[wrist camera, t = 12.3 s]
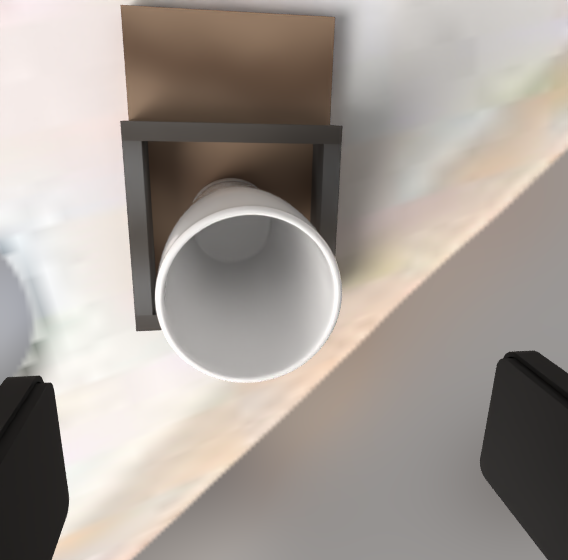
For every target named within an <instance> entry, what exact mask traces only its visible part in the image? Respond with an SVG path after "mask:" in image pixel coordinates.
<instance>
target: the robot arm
mask: <svg viewBox="0 0 568 560" xmlns="http://www.w3.org/2000/svg"><path fill="white" fill-rule="evenodd" d="M480 467H481V471H482V473H483V476H484V477H485V479H486V480H487V481H488V483H489V484H490V485H491V487H492V488H493V489H494V490H495V492H496V493H497V494H498V496H499V497H500V498H501V500H502V501H503V502H504V503H505V505H506V506H507V507H508V509H509V510H510V511H511V513H512V514H513V515H514V516H515V518H516V519H517V520H518V522H519V523H520V524H521V525H522V527H523V528H524V529H525V531H526V532H527V533H528V535H529V536H530V537H531V538H532V540H533V541H534V542H535V544H536V545H537V546H538V547H539V549H540V550H541V551H542V553H543V554H544V555H545V557H546V558H547V559H548V560H568V373H567V372H565V371H564V370H562V369H561V368H560V367H558V366H557V365H555V364H554V363H552V362H551V361H550V360H548V359H547V358H546V357H544V356H543V355H541V354H540V353H538V352H536V351H516V352H508V353H507V354H506V355H505V356H504V358H503V359H500V360H499V362H498V364H497V368H496V373H495V378H494V384H493V390H492V396H491V401H490V407H489V412H488V418H487V424H486V429H485V435H484V440H483V447H482V452H481V457H480ZM68 506H69V493H68V486H67V479H66V472H65V464H64V457H63V450H62V443H61V436H60V429H59V422H58V415H57V407H56V400H55V393H54V388H53V385H52V383H44V382H43V379H42V377H40V376H24V377H7V378H6V379H5V380H4V381H3V383H2V384H1V385H0V560H52V557H53V554H54V551H55V548H56V545H57V543H58V540H59V537H60V534H61V531H62V528H63V525H64V522H65V519H66V516H67V513H68Z"/></svg>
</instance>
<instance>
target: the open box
mask: <svg viewBox="0 0 568 560" xmlns="http://www.w3.org/2000/svg"><path fill="white" fill-rule="evenodd" d="M121 17H122V31H123V45H124V60H125V74H126V88H127V102H128V116H129V121H120V122H121V135H122V149H123V162H124V175H125V188H126V201H127V215H128V228H129V241H130V254H131V267H132V280H133V294H134V307H135V320H136V331H153V330H162V329H161V326H160V324H159V320H158V317H157V312H156V305H155V288H156V281H157V275H158V268H159V263H160V259H161V255H162V252H163V249H164V246H165V244H166V241H167V239H168V237H169V235H170V233H171V230H172V229H173V227H174V226H175V224H176V222H177V221H178V219H179V218H180V217H181V216H182V214H183V213H184V212H185V211H186V210H187V209H188V207H189V206H190V205H191V204H192V202H193V200H194V198H195V196H196V195H197V194H198V193H199V192H200V190H201V189H203V188H204V187H205V186H207V185H208V184H210V183H212V182H214V181H216V180H219V179H224V178H238V179H242V180H246V181H248V182H250V183H252V184H254V185H256V186H257V187H258V188H259V189H262V190H265V191H267V192H270V193H272V194H274V195H276V196H278V197H280V198H282V199H283V200H285V201H287V202H288V203H290V204H291V205H292V206H294V207H295V208H296V209H297V210H298V211H300V212H301V213H302V214H303V215H304V216H305V217H306V218H307V219H308V220H309V221H310V222H311V223H312V225H313V226H314V227H315V228H316V230H317V231H318V232H319V233H320V235H321V236H322V238H323V239H324V240H325V242H326V243H327V245H328V246H329V248H330V249H331V251H332V253H333V255H334V257H335V249H336V231H337V213H338V195H339V178H340V160H341V142H342V126H334V125H330V110H331V90H332V69H333V49H334V28H335V17H325V16H308V15H290V14H272V13H254V12H236V11H219V10H201V9H183V8H165V7H147V6H130V5H121Z"/></svg>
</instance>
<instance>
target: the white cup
mask: <svg viewBox="0 0 568 560" xmlns="http://www.w3.org/2000/svg"><path fill="white" fill-rule="evenodd" d="M341 301H342V282H341V276H340V271H339V268H338V264H337V262H336V259H335V257H334V255H333V253H332V251H331V249H330V248H329V246H328V245H327V243H326V242H325V240H324V239H323V238H322V236H321V235H320V233H319V232H318V231H317V230H316V228H315V227H314V226H313V225H312V223H311V222H310V221H309V220H308V219H307V218H306V217H305V216H304V215H303V214H302V213H301V212H300V211H298V210H297V209H296V208H295V207H294V206H292V205H291V204H290V203H288V202H287V201H285V200H283V199H282V198H280V197H278V196H276V195H274V194H272V193H270V192H267V191H265V190H262V189H259V188H258V187H257V186H256V185H254V184H252V183H250V182H248V181H246V180H242V179H238V178H224V179H219V180H216V181H214V182H212V183H210V184H208V185H207V186H205V187H204V188H203V189H201V190H200V192H199V193H198V194H197V195H196V196H195V198H194V200H193V202H192V204H191V205H190V206H189V207H188V209H187V210H186V211H185V212H184V213H183V214H182V216H181V217H180V218H179V219H178V221H177V222H176V224H175V226H174V227H173V229H172V230H171V233H170V235H169V237H168V239H167V241H166V244H165V246H164V249H163V252H162V255H161V259H160V263H159V268H158V275H157V281H156V288H155V305H156V312H157V317H158V320H159V324H160V326H161V329H162V331H163V333H164V335H165V337H166V339H167V341H168V342H169V344H170V345H171V346H172V348H173V349H174V350H175V351H176V353H177V354H178V355H179V356H180V357H181V358H182V359H183V360H184V361H186V362H187V363H188V364H190V365H191V366H192V367H194V368H195V369H197V370H199V371H201V372H203V373H205V374H207V375H209V376H212V377H214V378H218V379H221V380H225V381H230V382H239V383H251V382H261V381H266V380H270V379H274V378H277V377H280V376H283V375H285V374H287V373H290V372H291V371H293V370H295V369H297V368H299V367H300V366H302V365H303V364H304V363H306V362H307V361H308V360H309V359H311V358H312V357H313V356H314V355H315V354H316V353H317V352H318V351H319V350H320V349H321V347H322V346H323V345H324V344H325V342H326V341H327V339H328V338H329V336H330V334H331V333H332V331H333V329H334V326H335V324H336V322H337V319H338V316H339V312H340V308H341Z"/></svg>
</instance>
